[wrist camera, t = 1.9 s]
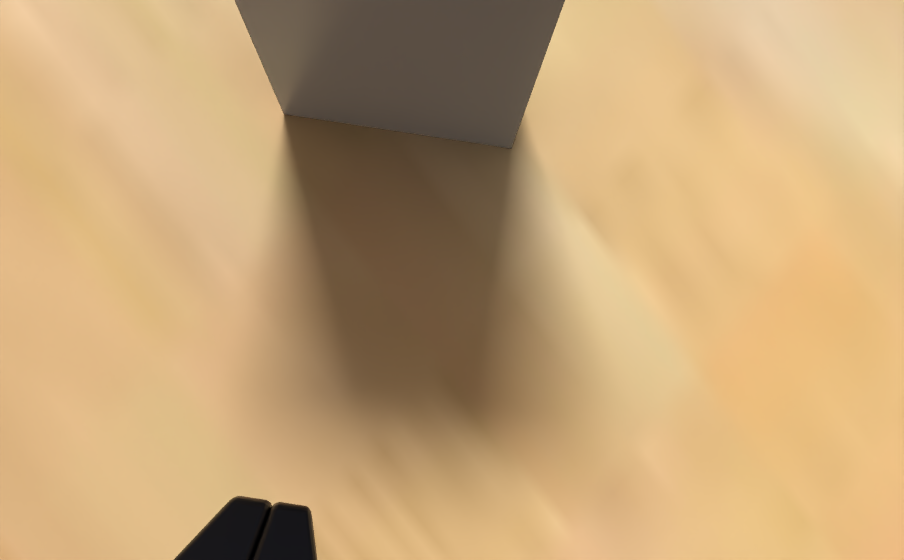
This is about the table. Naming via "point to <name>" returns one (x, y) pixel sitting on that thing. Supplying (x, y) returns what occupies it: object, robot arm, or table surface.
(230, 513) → the robot arm
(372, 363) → the table surface
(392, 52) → the glazed tile
